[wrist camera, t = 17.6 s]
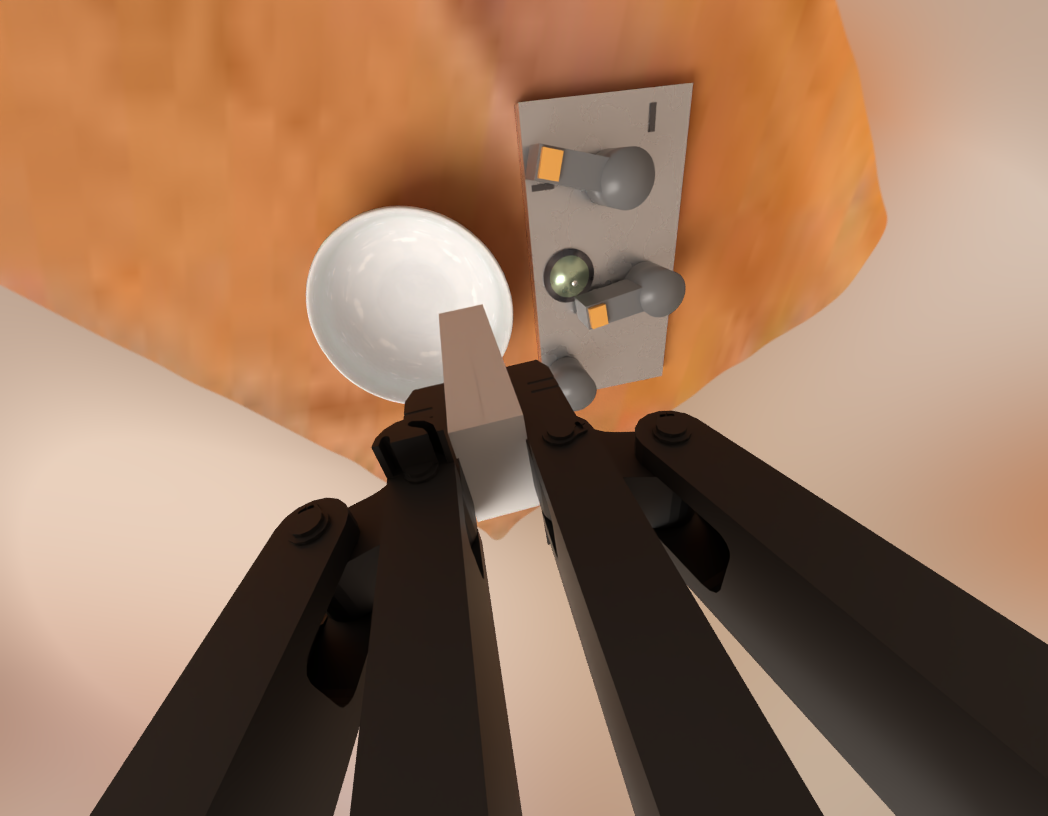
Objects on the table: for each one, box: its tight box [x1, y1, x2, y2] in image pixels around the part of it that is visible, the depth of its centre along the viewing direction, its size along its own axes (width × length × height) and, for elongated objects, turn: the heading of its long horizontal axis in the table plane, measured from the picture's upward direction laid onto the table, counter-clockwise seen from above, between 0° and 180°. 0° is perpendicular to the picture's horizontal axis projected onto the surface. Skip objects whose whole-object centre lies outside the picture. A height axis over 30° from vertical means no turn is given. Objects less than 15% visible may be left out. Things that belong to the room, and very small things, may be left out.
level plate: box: [514, 83, 693, 389], centre depth 39 cm, size 28×15×2 cm, turn 6°
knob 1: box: [525, 143, 655, 210], centre depth 32 cm, size 10×4×4 cm, turn 81°
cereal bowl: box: [306, 206, 513, 404], centre depth 35 cm, size 17×17×7 cm
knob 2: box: [574, 261, 685, 330], centre depth 38 cm, size 10×4×4 cm, turn 105°
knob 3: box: [549, 357, 597, 411], centre depth 43 cm, size 10×4×4 cm, turn 141°
